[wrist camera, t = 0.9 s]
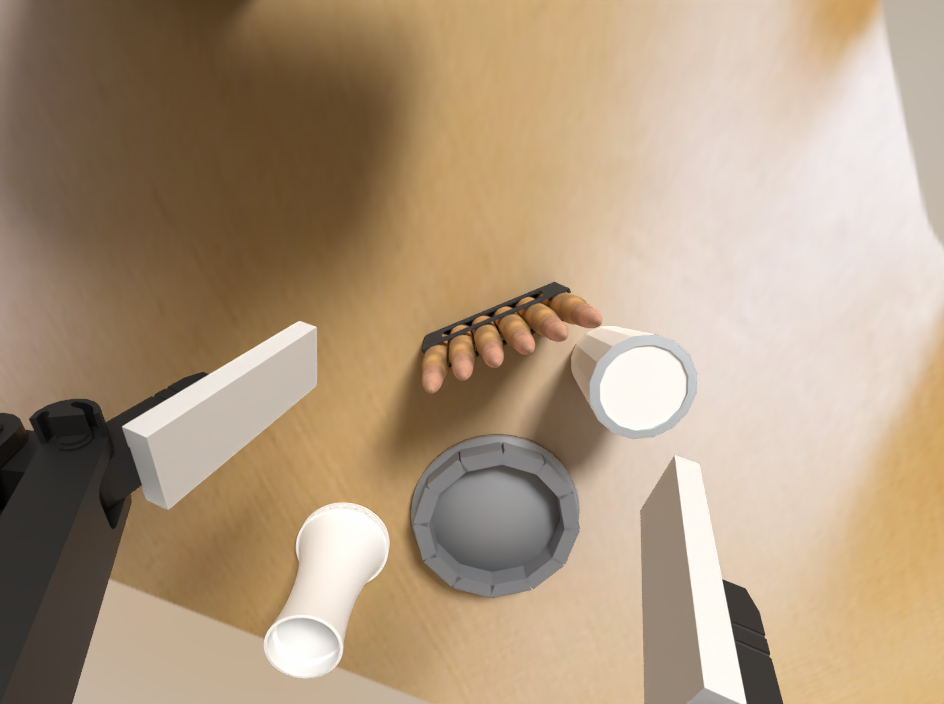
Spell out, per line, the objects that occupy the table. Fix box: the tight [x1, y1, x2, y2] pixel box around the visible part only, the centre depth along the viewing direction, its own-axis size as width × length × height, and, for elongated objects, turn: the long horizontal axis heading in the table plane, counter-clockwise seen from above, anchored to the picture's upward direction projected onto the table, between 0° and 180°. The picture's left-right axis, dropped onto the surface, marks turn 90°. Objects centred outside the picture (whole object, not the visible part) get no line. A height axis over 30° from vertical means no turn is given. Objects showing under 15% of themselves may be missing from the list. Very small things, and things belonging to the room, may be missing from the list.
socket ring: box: [411, 434, 580, 598], centre depth 35 cm, size 14×14×2 cm
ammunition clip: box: [421, 282, 602, 394], centre depth 26 cm, size 11×2×12 cm, turn 113°
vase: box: [264, 502, 390, 679], centre depth 31 cm, size 8×8×10 cm
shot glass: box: [571, 326, 697, 439], centre depth 30 cm, size 7×7×7 cm
